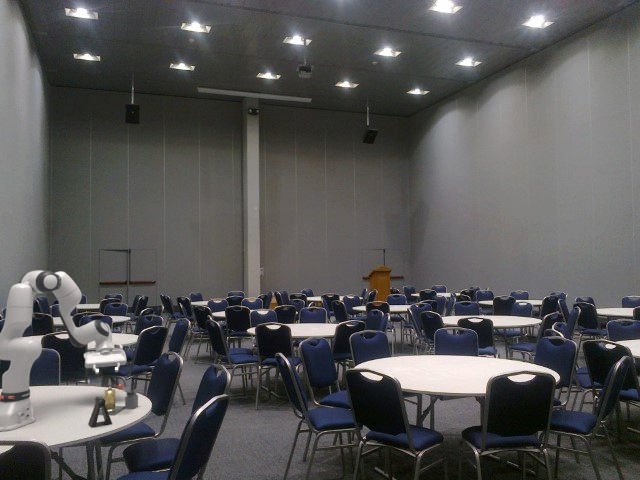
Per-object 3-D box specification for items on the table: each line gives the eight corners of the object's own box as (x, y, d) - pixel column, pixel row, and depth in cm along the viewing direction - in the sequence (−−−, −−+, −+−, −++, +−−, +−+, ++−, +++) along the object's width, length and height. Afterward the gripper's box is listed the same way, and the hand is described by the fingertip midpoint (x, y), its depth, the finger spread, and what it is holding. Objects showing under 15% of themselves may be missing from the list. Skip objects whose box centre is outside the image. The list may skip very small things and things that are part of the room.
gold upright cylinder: (112, 410, 273) (112, 388, 273) (102, 410, 273) (102, 388, 273) (117, 407, 278) (117, 386, 278) (107, 407, 278) (107, 386, 278)
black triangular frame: (108, 421, 259) (108, 395, 260) (112, 424, 254) (112, 397, 255) (88, 424, 254) (88, 397, 254) (91, 427, 249) (91, 400, 249)
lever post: (134, 408, 280) (134, 391, 281) (125, 408, 281) (125, 390, 281) (137, 406, 285) (137, 388, 285) (128, 406, 285) (128, 388, 285)
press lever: (129, 396, 283) (130, 390, 285) (134, 396, 283) (135, 390, 284) (116, 389, 268) (117, 383, 270) (121, 389, 268) (122, 383, 269)
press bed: (114, 415, 269) (114, 412, 269) (94, 414, 270) (94, 412, 270) (125, 408, 281) (125, 405, 281) (105, 408, 282) (105, 405, 282)
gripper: (83, 348, 289) (85, 370, 280) (125, 345, 298) (128, 366, 289) (83, 355, 293) (84, 378, 284) (124, 352, 302) (126, 373, 293)
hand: (107, 372), depth 287 cm, fingers open, 8 cm apart
